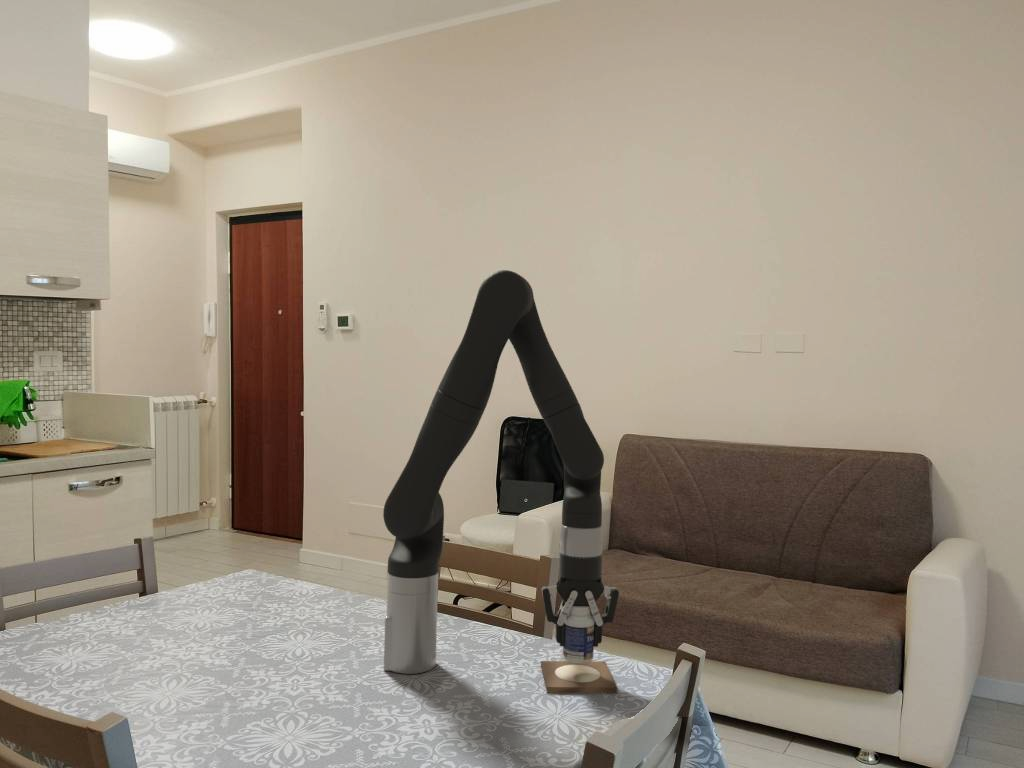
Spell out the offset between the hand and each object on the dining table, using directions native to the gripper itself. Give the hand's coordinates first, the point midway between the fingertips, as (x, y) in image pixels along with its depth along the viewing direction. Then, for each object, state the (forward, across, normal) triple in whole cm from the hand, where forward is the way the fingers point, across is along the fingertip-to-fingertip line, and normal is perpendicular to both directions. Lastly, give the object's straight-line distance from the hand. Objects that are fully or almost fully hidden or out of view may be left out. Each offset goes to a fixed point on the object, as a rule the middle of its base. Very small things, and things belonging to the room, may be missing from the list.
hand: (578, 644), depth 142 cm
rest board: (+6, 0, 0) cm, 6 cm away
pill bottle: (+3, 0, 0) cm, 3 cm away
